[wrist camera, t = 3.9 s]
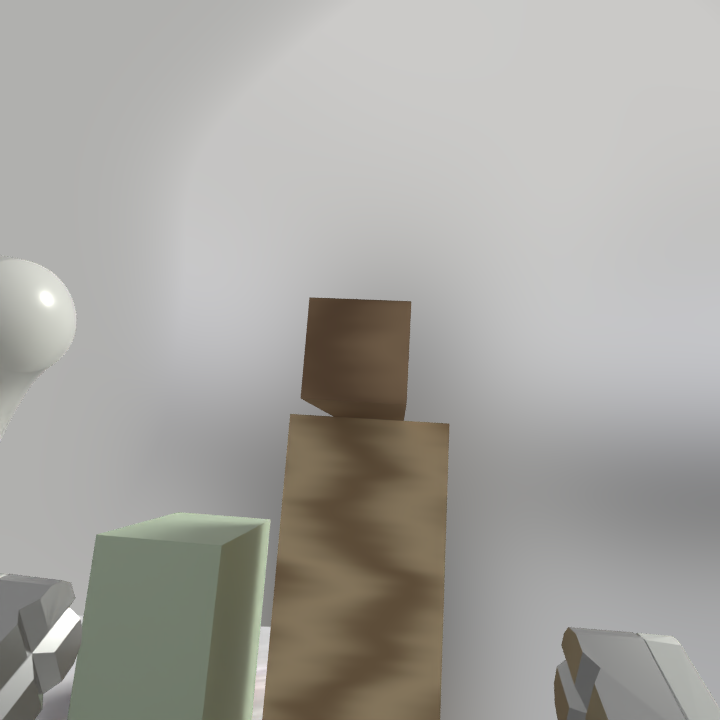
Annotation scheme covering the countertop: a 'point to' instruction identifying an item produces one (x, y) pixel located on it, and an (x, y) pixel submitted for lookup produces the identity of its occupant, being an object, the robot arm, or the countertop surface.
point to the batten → (357, 357)
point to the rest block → (172, 620)
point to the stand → (359, 572)
